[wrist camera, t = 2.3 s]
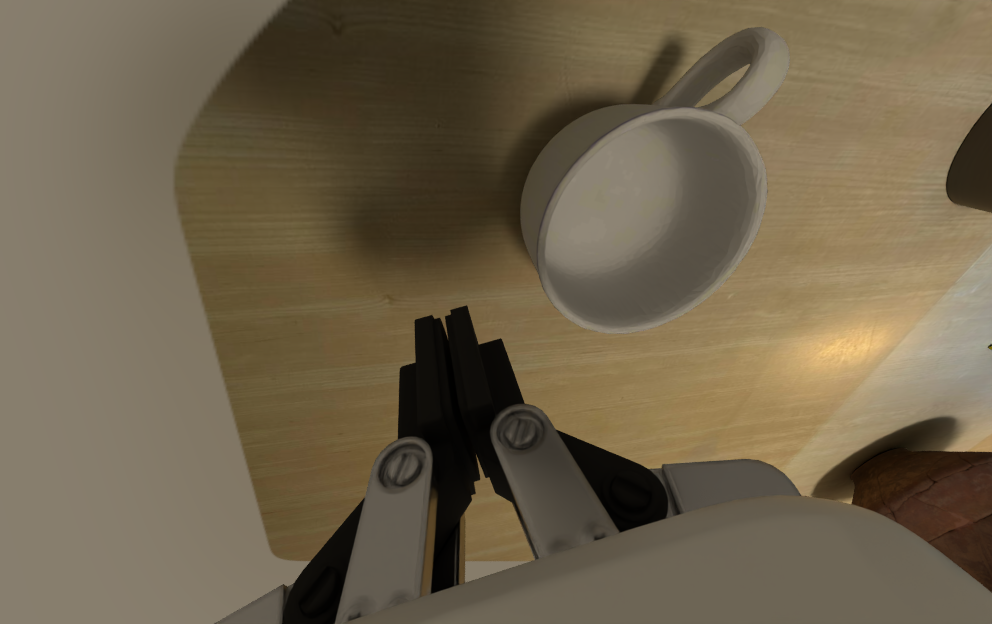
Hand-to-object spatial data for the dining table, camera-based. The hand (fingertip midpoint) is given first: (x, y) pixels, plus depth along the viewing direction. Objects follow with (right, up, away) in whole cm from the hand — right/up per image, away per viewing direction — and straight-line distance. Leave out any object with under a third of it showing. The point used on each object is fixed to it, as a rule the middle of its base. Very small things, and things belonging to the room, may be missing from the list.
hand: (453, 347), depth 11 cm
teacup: (+8, +10, +10) cm, 17 cm away
